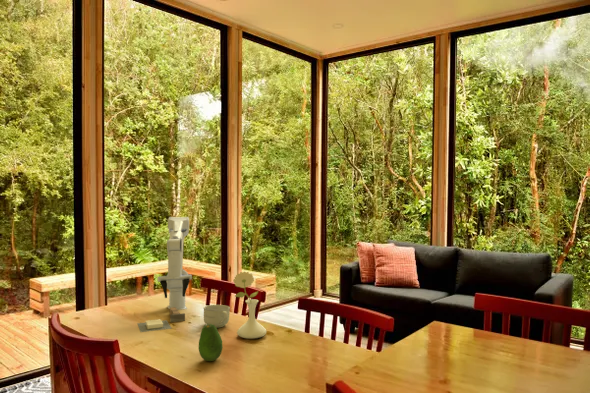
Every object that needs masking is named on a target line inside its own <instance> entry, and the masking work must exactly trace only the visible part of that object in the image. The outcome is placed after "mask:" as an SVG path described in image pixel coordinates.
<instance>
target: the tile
mask: <svg viewBox="0 0 590 393" xmlns="http://www.w3.org/2000/svg"><path fill="white" fill-rule="evenodd" d="M162 321H163V320H162V319H160V318H159V319H158V318H157V319H149V320H145V322H146V326H147V329H154V328H162V327H163V322H162Z"/></svg>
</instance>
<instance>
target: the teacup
mask: <svg viewBox="0 0 590 393" xmlns="http://www.w3.org/2000/svg"><path fill="white" fill-rule="evenodd" d="M230 309H231V307H230V306H229V305H225V304H224V305H223V304H210V305H205V306H203V322H204V324H205V325H208V324H212V325H214V326H215V327H216V328H217V329H218V328H224V327H225V326H226V325H227V324H228V323H229V320H230V313H231V312H230Z"/></svg>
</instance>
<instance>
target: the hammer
mask: <svg viewBox="0 0 590 393" xmlns="http://www.w3.org/2000/svg"><path fill="white" fill-rule="evenodd" d="M169 317H170V318H169V322H170V323H177V322H185V321H186V313H184V312H183V313H180V310H177V309H176V307H172V308H170V310H169Z"/></svg>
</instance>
